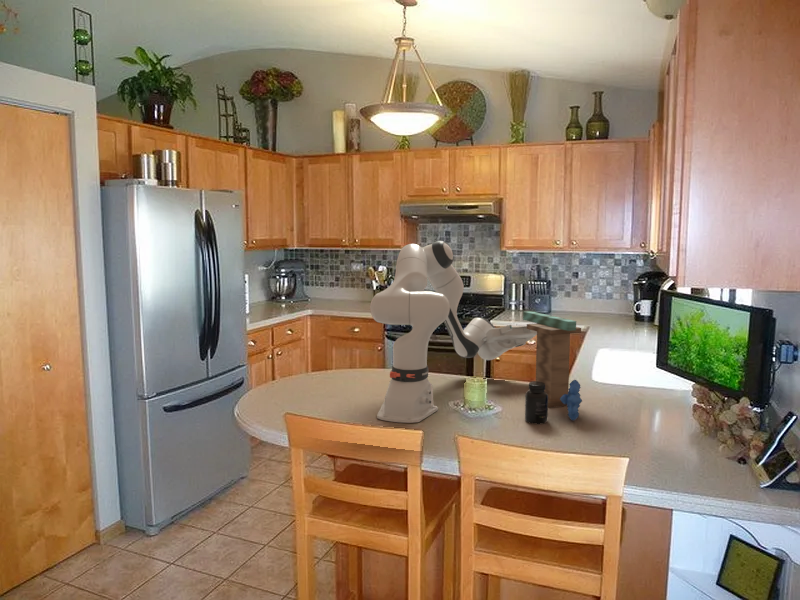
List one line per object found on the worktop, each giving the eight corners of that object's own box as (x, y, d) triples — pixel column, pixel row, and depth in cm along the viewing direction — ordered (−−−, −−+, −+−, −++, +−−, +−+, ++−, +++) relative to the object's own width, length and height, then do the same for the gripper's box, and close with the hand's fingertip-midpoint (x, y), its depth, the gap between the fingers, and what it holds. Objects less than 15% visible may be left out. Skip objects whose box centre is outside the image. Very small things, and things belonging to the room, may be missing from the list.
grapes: (561, 411, 192) (561, 375, 191) (582, 413, 190) (583, 377, 189) (557, 422, 181) (558, 384, 180) (580, 425, 179) (581, 386, 178)
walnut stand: (525, 396, 209) (526, 324, 206) (553, 393, 213) (555, 321, 210) (549, 407, 196) (551, 330, 193) (578, 403, 201) (581, 328, 197)
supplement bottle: (520, 418, 185) (521, 381, 184) (539, 416, 187) (540, 379, 186) (532, 425, 179) (533, 386, 177) (552, 423, 181) (553, 384, 180)
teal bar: (523, 319, 216) (523, 311, 216) (530, 319, 217) (530, 311, 217) (568, 330, 192) (568, 321, 192) (576, 330, 193) (576, 321, 193)
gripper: (478, 333, 229) (494, 319, 217) (523, 330, 236) (541, 316, 225) (482, 348, 227) (499, 336, 215) (527, 344, 234) (546, 332, 222)
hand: (521, 326), depth 220 cm, fingers open, 8 cm apart
